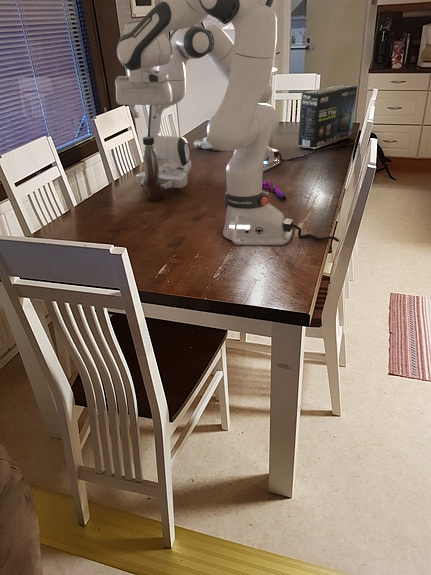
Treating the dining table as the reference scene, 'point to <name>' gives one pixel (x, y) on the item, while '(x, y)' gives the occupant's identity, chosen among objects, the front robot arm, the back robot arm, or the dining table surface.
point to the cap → (148, 141)
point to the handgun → (273, 189)
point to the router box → (326, 115)
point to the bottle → (152, 173)
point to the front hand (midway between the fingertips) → (146, 117)
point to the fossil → (204, 144)
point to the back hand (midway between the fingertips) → (152, 185)
